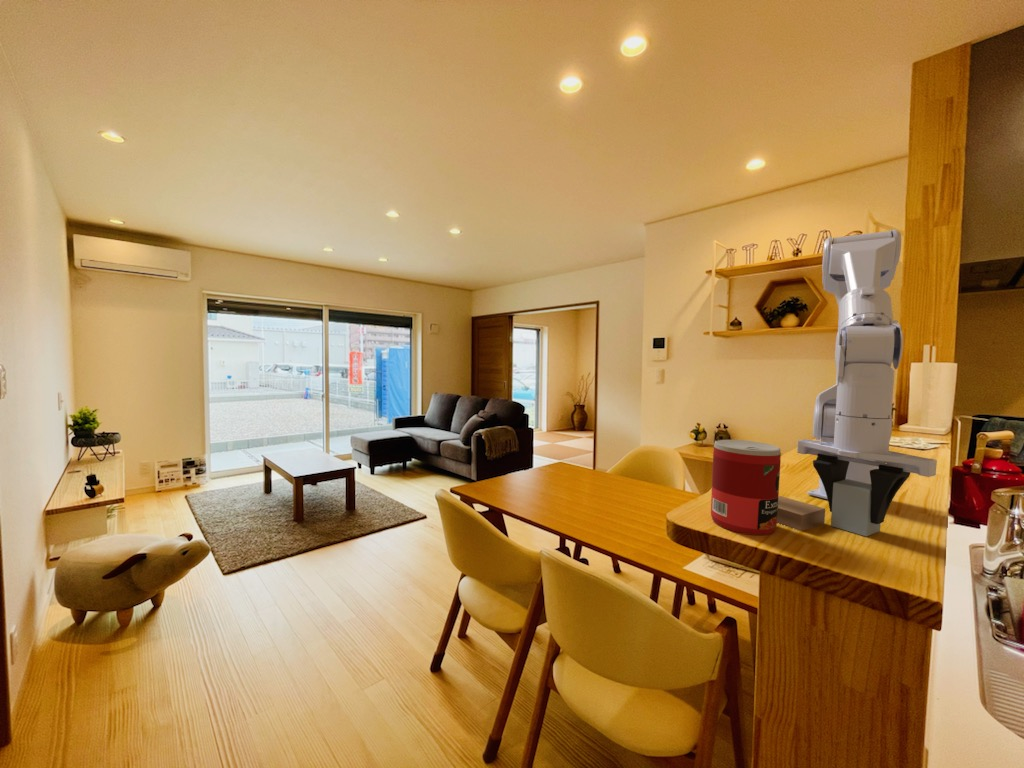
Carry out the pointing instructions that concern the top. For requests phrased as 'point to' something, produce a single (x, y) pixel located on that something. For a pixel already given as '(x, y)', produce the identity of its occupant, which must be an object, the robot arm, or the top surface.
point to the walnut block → (799, 514)
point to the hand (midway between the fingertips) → (855, 516)
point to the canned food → (745, 486)
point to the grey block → (853, 507)
